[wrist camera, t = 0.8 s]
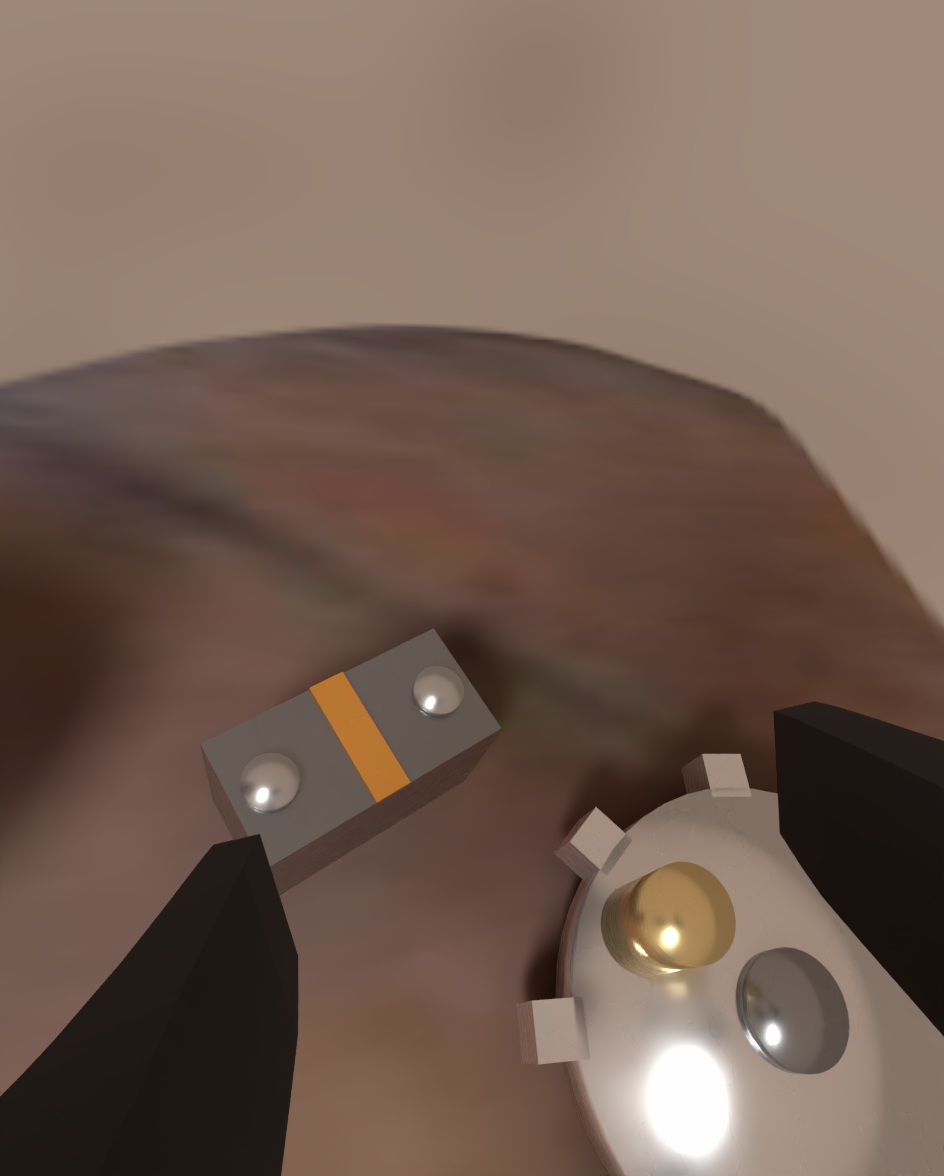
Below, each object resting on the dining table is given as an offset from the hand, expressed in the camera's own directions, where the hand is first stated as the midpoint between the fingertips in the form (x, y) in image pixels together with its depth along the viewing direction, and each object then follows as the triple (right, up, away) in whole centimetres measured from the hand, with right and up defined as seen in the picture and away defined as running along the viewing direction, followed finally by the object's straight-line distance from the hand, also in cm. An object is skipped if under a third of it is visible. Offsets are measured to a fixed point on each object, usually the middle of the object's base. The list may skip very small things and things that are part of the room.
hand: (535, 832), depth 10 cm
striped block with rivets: (-5, -3, +14) cm, 15 cm away
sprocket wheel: (+7, -10, +13) cm, 17 cm away
